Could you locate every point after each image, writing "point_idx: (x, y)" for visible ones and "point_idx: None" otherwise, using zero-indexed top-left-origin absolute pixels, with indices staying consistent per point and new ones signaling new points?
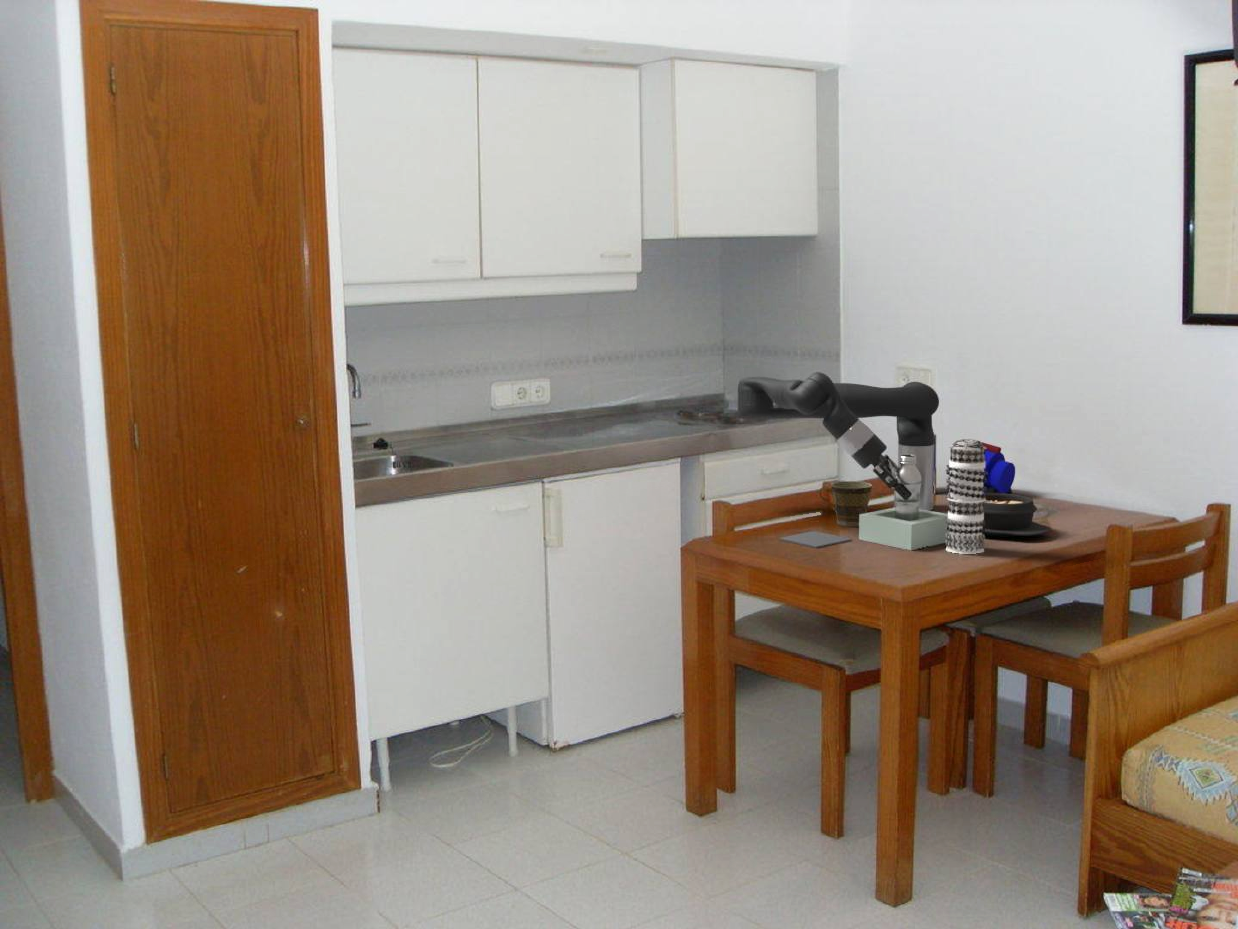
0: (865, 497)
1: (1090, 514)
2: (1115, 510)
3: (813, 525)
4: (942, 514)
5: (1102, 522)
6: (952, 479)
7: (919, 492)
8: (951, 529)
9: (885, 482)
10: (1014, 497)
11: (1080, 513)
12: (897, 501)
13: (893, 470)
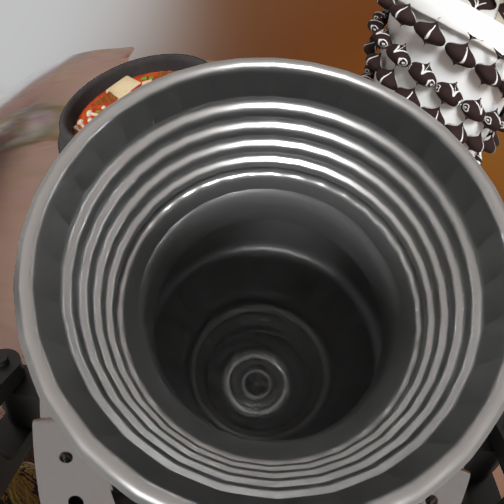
0: (14, 489)
1: (67, 77)
2: (60, 67)
3: None
4: None
5: (113, 63)
6: (501, 105)
7: (279, 288)
8: None
9: (495, 497)
10: (100, 82)
11: (57, 84)
12: (297, 429)
13: (461, 497)
